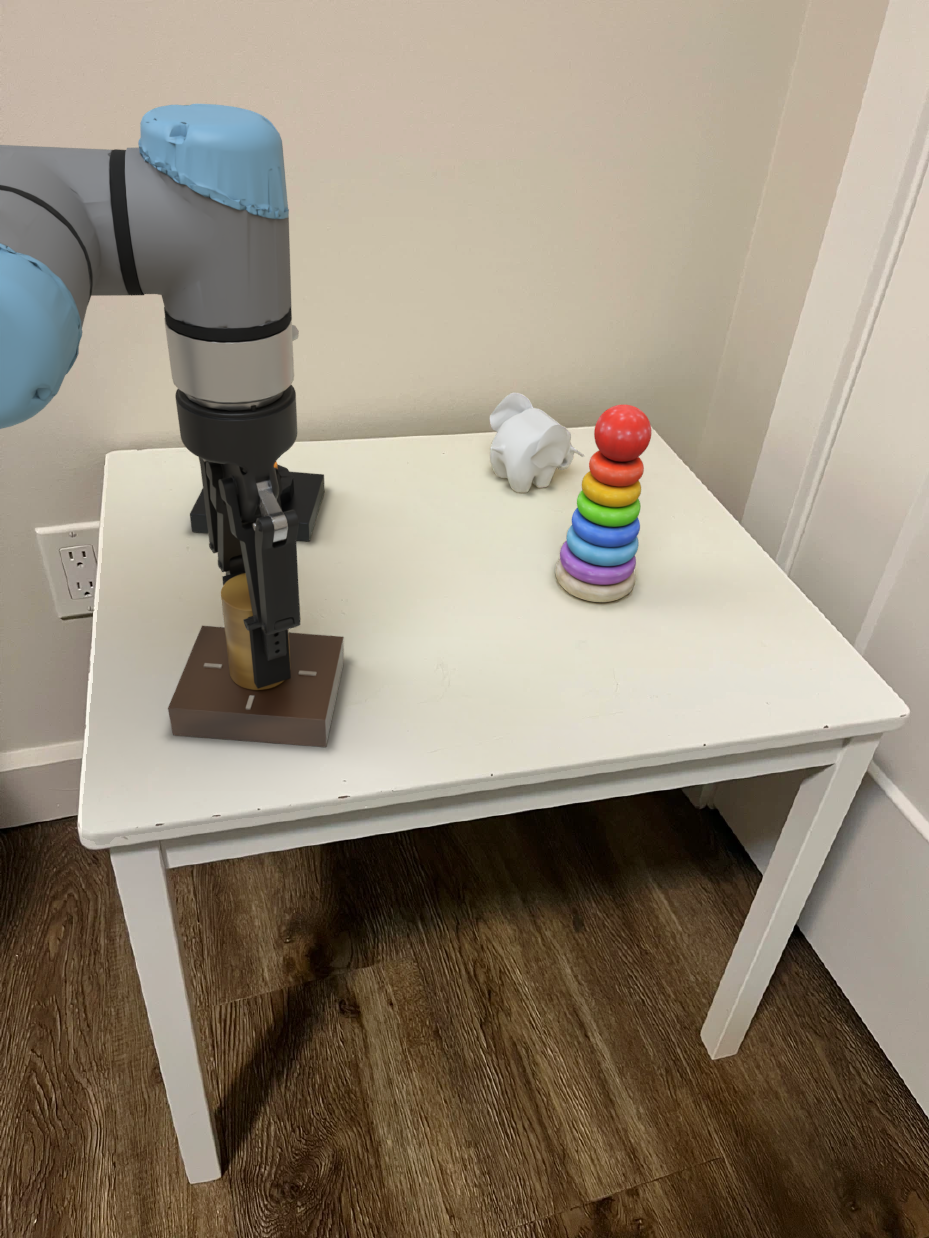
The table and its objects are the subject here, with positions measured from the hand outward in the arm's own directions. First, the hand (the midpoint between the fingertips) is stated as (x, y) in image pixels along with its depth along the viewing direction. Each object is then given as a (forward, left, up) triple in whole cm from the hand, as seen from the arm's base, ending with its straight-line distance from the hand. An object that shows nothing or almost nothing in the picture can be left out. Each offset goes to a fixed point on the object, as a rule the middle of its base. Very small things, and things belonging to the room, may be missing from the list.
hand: (259, 658), depth 73 cm
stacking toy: (+29, +20, -4) cm, 35 cm away
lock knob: (0, 0, -1) cm, 1 cm away
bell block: (-6, +28, -4) cm, 29 cm away
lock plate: (0, 0, -4) cm, 4 cm away
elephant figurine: (+23, +40, -4) cm, 46 cm away
